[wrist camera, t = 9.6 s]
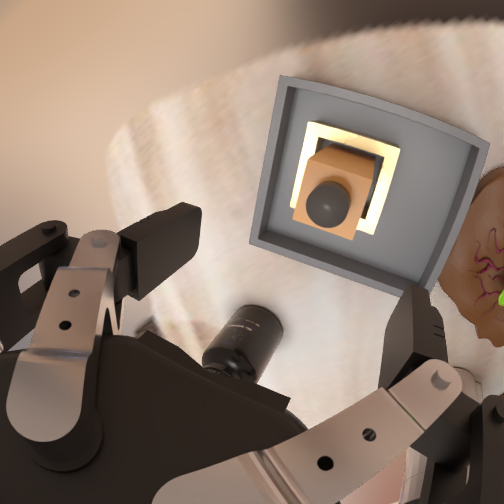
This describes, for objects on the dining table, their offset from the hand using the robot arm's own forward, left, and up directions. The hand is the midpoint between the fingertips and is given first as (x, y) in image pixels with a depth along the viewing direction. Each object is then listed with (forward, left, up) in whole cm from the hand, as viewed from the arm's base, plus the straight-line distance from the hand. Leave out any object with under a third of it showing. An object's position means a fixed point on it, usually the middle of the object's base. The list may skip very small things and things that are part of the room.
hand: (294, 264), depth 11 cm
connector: (0, 0, -19) cm, 19 cm away
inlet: (0, 0, -20) cm, 20 cm away
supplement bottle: (+5, +22, -20) cm, 30 cm away
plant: (-21, +1, -20) cm, 29 cm away
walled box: (-2, +1, -20) cm, 20 cm away
